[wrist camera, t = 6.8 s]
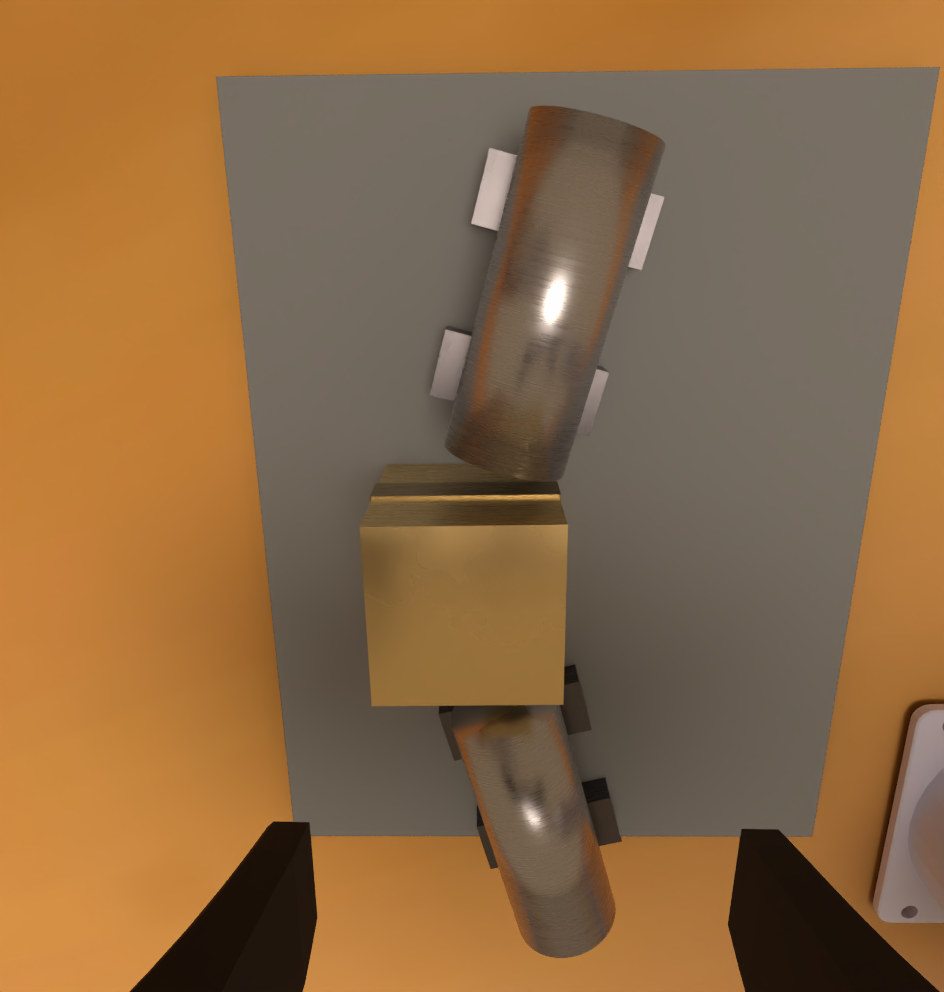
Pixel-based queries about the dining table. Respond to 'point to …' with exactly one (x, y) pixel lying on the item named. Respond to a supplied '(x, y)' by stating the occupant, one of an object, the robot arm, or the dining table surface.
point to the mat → (617, 425)
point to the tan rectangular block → (464, 588)
